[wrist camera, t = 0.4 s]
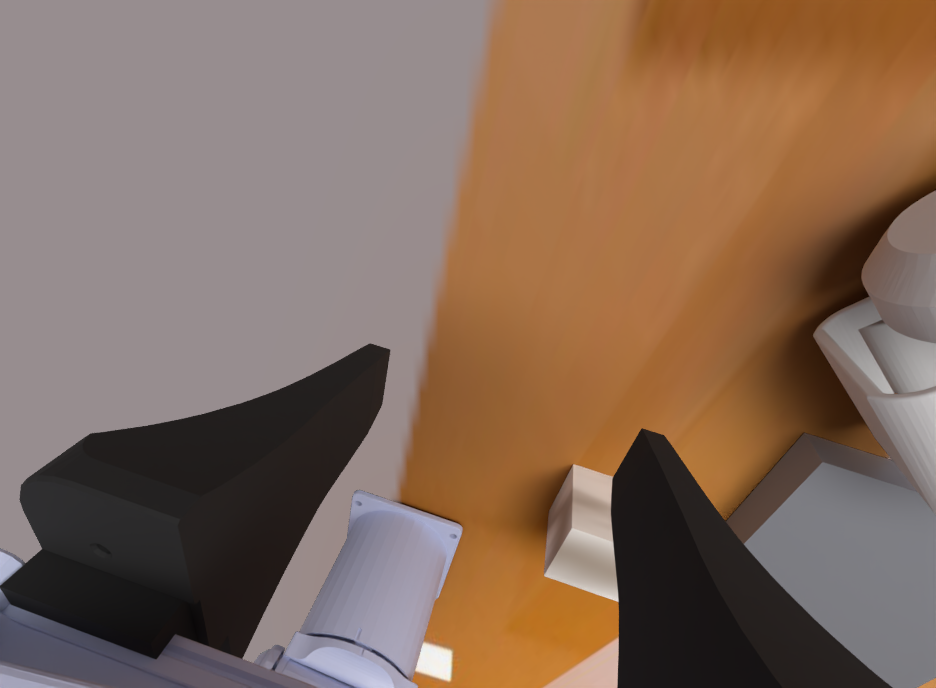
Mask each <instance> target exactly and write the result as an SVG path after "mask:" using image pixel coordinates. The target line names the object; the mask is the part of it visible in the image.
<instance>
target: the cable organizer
mask: <svg viewBox="0 0 936 688" xmlns="http://www.w3.org/2000/svg"><path fill="white" fill-rule="evenodd" d="M861 279H862V282H863V285H864V287H865V289H866V291H867V293H868V295H869V296H870V297H867V298H865V299H863V300H861V301H858V302H856V303H854V304H852V305H850V306H847V307H845V308H843V309H841V310H839V311H837V312H836V313H834V314H832V315H831V316H829V317H828V318H827V319H825V320H824V321H823V322H822V323H821V324H820V325H819V326H818V327H817V329H816V330H815V332H814V334H813V337H814V339H815V340H816V342H817V344H818V345H819V347H820V349H821V350H822V352H823V354H824V355H825V357H826V358H827V360H828V362H829V363H830V365H831V367H832V368H833V370H834V372H835V373H836V375H837V377H838V378H839V380H840V382H841V383H842V385H843V386H844V388H845V390H846V391H847V393H848V395H849V396H850V398H851V400H852V401H853V403H854V405H855V406H856V408H857V410H858V411H859V413H860V414H861V416H862V418H863V419H864V421H865V423H866V424H867V426H868V428H869V429H870V431H871V433H872V434H873V436H874V438H875V439H876V440H877V441H878V443H879V444H880V445H881V446H882V448H883V449H884V450H885V451H886V453H887V454H888V455H889V456H890V458H891V459H892V460H893V462H894V463H895V464H896V465H897V467H898V468H899V469H900V470H901V472H902V473H903V474H904V475H905V477H906V478H907V479H908V481H909V482H910V483H911V484H912V486H913V487H914V488H915V489H916V491H917V492H918V493H919V494H920V496H921V497H922V498H923V500H924V501H925V502H926V503H927V505H928V506H929V507H930V508H931V510H932V511H933V512H934V513H935V515H936V190H935V191H934V192H932V193H930V194H928V195H926V196H925V197H923V198H921V199H920V200H918V201H917V202H915V203H914V204H912V205H911V206H909V207H908V208H907V209H906V210H904V211H903V212H902V213H901V214H900V215H899V216H898V217H897V218H896V219H895V220H894V221H893V223H892V224H891V225H890V227H889V228H888V229H887V231H886V232H885V233H884V235H883V236H882V238H881V239H880V241H879V242H878V244H877V245H876V247H875V248H874V250H873V251H872V253H871V254H870V256H869V258H868V259H867V261H866V262H865V264H864V267H863V269H862V276H861ZM894 392H895V393H899V394H894Z"/></svg>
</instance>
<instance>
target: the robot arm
mask: <svg viewBox="0 0 936 688" xmlns="http://www.w3.org/2000/svg"><path fill="white" fill-rule="evenodd" d="M389 355H390V350H389V349H386V348H383V347H380V346H377V345H374V344H368V345H366V346H364V347H363V348H360V349H359V350H357V351H355V352H353V353H351V354H350V355H348V356H346V357H344V358H343V359H341V360H339V361H337V362H335V363H334V364H331V365H329V366H328V367H326V368H324V369H322V370H320V371H318V372H316V373H314V374H312V375H310V376H308V377H306V378H304V379H302V380H299V381H297V382H295V383H293V384H291V385H289V386H286V387H284V388H282V389H280V390H277V391H274V392H272V393H269V394H266V395H264V396H261V397H258V398H255V399H253V400H250V401H247V402H244V403H241V404H237V405H234V406H230V407H226V408H223V409H219V410H216V411H212V412H209V413H206V414H202V415H197V416H193V417H188V418H184V419H179V420H174V421H170V422H164V423H160V424H154V425H148V426H142V427H135V428H128V429H122V430H115V431H108V432H101V433H92V434H89V435H88V436H86V437H85V438H83V439H82V440H80V441H79V442H78V443H76V444H75V445H73V446H72V447H71V448H69V449H68V450H66V451H65V452H64V453H62V454H61V455H60V456H58V457H57V458H55V459H54V460H52V461H51V462H50V463H48V464H47V465H46V466H44V467H43V468H41V469H40V470H38V471H37V472H36V473H34V474H33V475H31V476H30V477H29V478H27V479H26V480H25V481H24V483H23V484H22V485H21V491H20V502H21V505H22V508H23V511H24V513H25V515H26V517H27V519H28V521H29V523H30V525H31V527H32V529H33V531H34V533H35V535H36V537H37V539H38V541H39V543H40V545H41V547H42V550H41V551H40V552H38V553H37V554H36V555H35V556H34V557H33V558H32V559H30V560H29V561H28V562H27V563H26V564H25V562H24V561H23V560H21V559H20V558H19V557H17V556H16V555H14V554H12V553H10V552H8V551H6V550H3V549H1V548H0V688H418V685H417V684H415V683H413V682H412V680H413V676H414V672H415V669H416V665H417V662H418V658H419V655H420V651H421V648H422V644H423V641H424V637H425V634H426V630H427V627H428V623H429V619H430V616H431V612H432V609H433V605H434V602H435V599H437V598H438V597H439V595H440V592H441V589H442V586H443V584H444V581H445V578H446V576H447V573H448V570H449V567H450V565H451V562H452V559H453V556H454V554H455V551H456V548H457V545H458V543H459V540H460V537H461V535H462V531H463V528H462V526H461V525H460V524H458V523H455V522H452V521H449V520H446V519H443V518H440V517H438V516H435V515H432V514H429V513H426V512H423V511H420V510H417V509H414V508H411V507H409V506H406V505H403V504H400V503H397V502H394V501H391V500H388V499H385V498H382V497H379V496H377V495H374V494H371V493H368V492H365V491H362V490H356V491H355V492H354V494H353V496H352V504H351V511H350V519H349V527H348V534H347V540H346V542H345V544H344V546H343V548H342V549H341V551H340V554H339V555H338V557H337V559H336V561H335V563H334V565H333V567H332V569H331V571H330V573H329V575H328V577H327V579H326V581H325V583H324V585H323V587H322V588H321V590H320V592H319V594H318V596H317V599H316V600H315V602H314V604H313V606H312V608H311V610H310V612H309V614H308V616H307V618H306V620H305V622H304V624H303V626H302V628H301V630H300V631H299V632H298V631H297V632H295V634H294V636H293V638H292V640H291V642H290V643H289V645H288V647H287V649H286V651H285V653H284V650H285V648H284V647H282V646H279V645H274V646H273V647H272V648H271V649H268V650H266V651H264V652H262V653H261V654H260V655H259V656H258V657H257V659H256V660H255V662H254V663H251V662H249V661H246V660H243V659H242V658H243V656H244V654H245V652H246V650H247V648H248V645H249V643H250V641H251V639H252V637H253V635H254V633H255V631H256V629H257V627H258V624H259V622H260V620H261V618H262V616H263V614H264V612H265V610H266V608H267V606H268V604H269V602H270V600H271V598H272V596H273V594H274V592H275V590H276V587H277V586H278V584H279V582H280V580H281V578H282V576H283V574H284V571H285V570H286V568H287V566H288V564H289V562H290V560H291V558H292V556H293V554H294V552H295V551H296V548H297V547H298V545H299V543H300V541H301V539H302V537H303V535H304V533H305V531H306V530H307V528H308V526H309V524H310V522H311V520H312V519H313V517H314V515H315V513H316V511H317V509H318V508H319V506H320V504H321V503H322V501H323V499H324V498H325V496H326V495H327V493H328V491H329V490H330V489H331V487H332V485H333V484H334V483H335V481H336V480H337V478H338V477H339V475H340V474H341V472H342V471H343V470H344V468H345V467H346V465H347V464H348V462H349V461H350V459H351V458H352V456H353V455H354V453H355V452H356V450H357V449H358V447H359V446H360V444H361V443H362V441H363V440H364V438H365V437H366V435H367V434H368V432H369V429H370V428H371V426H372V424H373V422H374V420H375V418H376V416H377V414H378V412H379V410H380V408H381V406H382V402H383V395H384V389H385V382H386V375H387V369H388V361H389ZM611 523H612V535H613V546H614V556H615V566H616V577H617V587H618V601H619V659H618V688H893V687H891V686H890V685H889V684H888V683H886V682H885V681H884V680H883V679H881V678H880V677H879V676H878V675H876V674H875V673H874V672H873V671H872V670H871V669H869V668H868V667H867V666H866V665H865V664H864V663H862V662H861V661H860V660H859V659H858V658H857V657H856V656H855V655H853V654H852V653H851V652H850V651H849V650H848V649H847V648H845V647H844V646H843V645H842V644H841V643H840V642H839V641H838V640H836V639H835V638H834V637H833V636H832V635H831V634H830V633H829V632H828V631H827V630H826V629H825V628H823V627H822V626H821V625H820V624H819V623H818V622H817V621H816V620H815V619H814V618H813V617H812V616H811V615H810V614H809V613H808V612H807V611H806V610H805V609H804V608H803V607H802V606H801V605H800V604H799V603H798V602H797V601H796V600H795V599H794V598H793V597H792V596H791V595H790V594H789V593H788V592H787V591H786V590H785V589H784V588H783V587H782V586H781V585H780V584H779V583H778V582H777V581H776V580H775V579H774V578H773V577H772V576H771V575H770V573H769V572H768V571H767V570H766V569H765V568H764V567H763V566H762V565H761V563H760V562H759V561H758V560H757V559H756V558H755V557H754V556H753V554H752V553H751V552H750V551H749V550H748V549H747V548H746V546H745V545H744V544H743V543H742V542H741V540H740V539H739V538H738V537H737V535H736V534H735V533H734V532H733V530H732V529H731V528H730V527H729V525H728V524H727V523H726V521H725V520H724V519H723V518H722V516H721V515H720V514H719V512H718V511H717V510H716V508H715V507H714V506H713V504H712V503H711V502H710V500H709V499H708V497H707V496H706V495H705V493H704V492H703V490H702V489H701V488H700V486H699V485H698V483H697V482H696V480H695V479H694V477H693V476H692V475H691V473H690V472H689V470H688V469H687V467H686V466H685V464H684V463H683V461H682V460H681V458H680V457H679V456H678V454H677V453H676V451H675V450H674V448H673V447H672V445H671V444H670V443H669V441H668V440H667V439H666V437H665V436H664V435H661V434H658V433H655V432H652V431H649V430H645V429H641V431H640V432H639V434H638V436H637V437H636V439H635V441H634V443H633V444H632V446H631V448H630V449H629V451H628V453H627V455H626V456H625V458H624V460H623V461H622V463H621V465H620V467H619V468H618V470H617V472H616V473H615V475H614V477H613V479H612V493H611ZM283 653H284V655H283Z"/></svg>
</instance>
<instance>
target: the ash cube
mask: <svg viewBox="0 0 936 688" xmlns="http://www.w3.org/2000/svg"><path fill="white" fill-rule="evenodd" d="M612 479H613V477H611V476H608V475H605V474H602V473H599V472H596V471H593V470H590V469H587V468H584V467H581V466H578V465H575V464H573V466H572V468H571V470H570V472H569V474H568V475H567V477H566V479H565V481H564V483H563V485H562V487H561V489H560V491H559V493H558V495H557V497H556V499H555V500H554V502H553V504H552V506H551V508H550V510H549V516H548V529H547V542H546V555H545V568H544V576H546V577H548V578H551V579H554V580H557V581H560V582H563V583H566V584H569V585H571V586H574V587H577V588H580V589H583V590H586V591H589V592H592V593H594V594H597V595H600V596H603V597H606V598H609V599H612V600H615V601H617V602H619V601H618V587H617V577H616V566H615V556H614V546H613V535H612V523H611V493H612Z"/></svg>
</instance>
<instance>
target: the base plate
mask: <svg viewBox="0 0 936 688" xmlns="http://www.w3.org/2000/svg"><path fill="white" fill-rule="evenodd" d="M726 523H727V524H728V525H729V527H730V528H731V529H732V530H733V532H734V533H735V534H736V535H737V537H738V538H739V539H740V540H741V542H742V543H743V544H744V545H745V546H746V548H747V549H748V550H749V551H750V552H751V553H752V554H753V556H754V557H755V558H756V559H757V560H758V561H759V562H760V563H761V565H762V566H763V567H764V568H765V569H766V570H767V571H768V572H769V573H770V575H771V576H772V577H773V578H774V579H775V580H776V581H777V582H778V583H779V584H780V585H781V586H782V587H783V588H784V589H785V590H786V591H787V592H788V593H789V594H790V595H791V596H792V597H793V598H794V599H795V600H796V601H797V602H798V603H799V604H800V605H801V606H802V607H803V608H804V609H805V610H806V611H807V612H808V613H809V614H810V615H811V616H812V617H813V618H814V619H815V620H816V621H817V622H818V623H819V624H820V625H821V626H822V627H823V628H825V629H826V630H827V631H828V632H829V633H830V634H831V635H832V636H833V637H834V638H835V639H836V640H838V641H839V642H840V643H841V644H842V645H843V646H844V647H845V648H847V649H848V650H849V651H850V652H851V653H852V654H853V655H855V656H856V657H857V658H858V659H859V660H860V661H861V662H862V663H864V664H865V665H866V666H867V667H868V668H869V669H871V670H872V671H873V672H874V673H875V674H876V675H878V676H879V677H880V678H881V679H883V680H884V681H885V682H886V683H888V684H889V685H890V686H891V687H893V688H917V687H919V686H921V685H923V684H925V683H927V682H929V681H930V680H932V679H934V678H936V515H935V513H934V512H933V511H932V510H931V508H930V507H929V506H928V505H927V503H926V502H925V501H924V500H923V498H922V497H921V496H920V494H919V493H918V492H917V491H916V489H915V488H914V487H913V486H912V484H911V483H910V482H909V481H908V479H907V478H906V477H905V475H904V474H903V473H902V472H901V470H900V469H899V468H898V467H897V465H896V464H895V463H894V462H893V460H889V459H886V458H883V457H880V456H877V455H874V454H870V453H867V452H864V451H861V450H858V449H854V448H851V447H848V446H845V445H842V444H839V443H835V442H832V441H829V440H826V439H823V438H820V437H816V436H813V435H810V434H807V433H804V434H803V435H802V436H801V437H800V438H799V439H798V440H797V441H796V443H795V444H794V445H793V446H792V447H791V448H790V449H789V451H788V452H787V453H786V454H785V455H784V456H783V457H782V458H781V460H780V461H779V462H778V463H777V464H776V465H775V466H774V468H773V469H772V470H771V471H770V472H769V473H768V474H767V475H766V477H765V478H764V479H763V480H762V481H761V482H760V483H759V484H758V486H757V487H756V488H755V489H754V490H753V491H752V492H751V494H750V495H749V496H748V497H747V498H746V499H745V500H744V501H743V503H742V504H741V505H740V506H739V507H738V508H737V509H736V511H735V512H734V513H733V514H732V515H731V516H730V517H729V518H728V520H727V521H726Z"/></svg>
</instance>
